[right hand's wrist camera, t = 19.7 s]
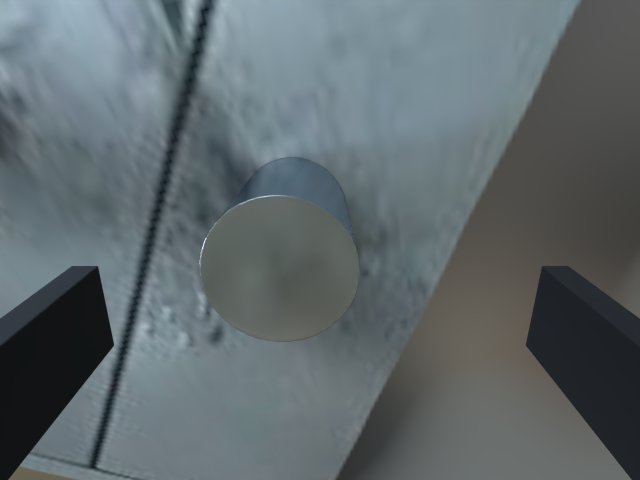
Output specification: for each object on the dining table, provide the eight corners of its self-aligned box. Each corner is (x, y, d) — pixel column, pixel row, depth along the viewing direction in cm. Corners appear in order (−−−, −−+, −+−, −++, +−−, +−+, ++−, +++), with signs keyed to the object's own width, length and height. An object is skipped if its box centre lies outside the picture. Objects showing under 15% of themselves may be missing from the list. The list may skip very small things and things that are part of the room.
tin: (221, 225, 36) (171, 294, 24) (275, 135, 33) (250, 162, 21) (309, 277, 37) (304, 366, 25) (366, 195, 35) (392, 251, 23)
